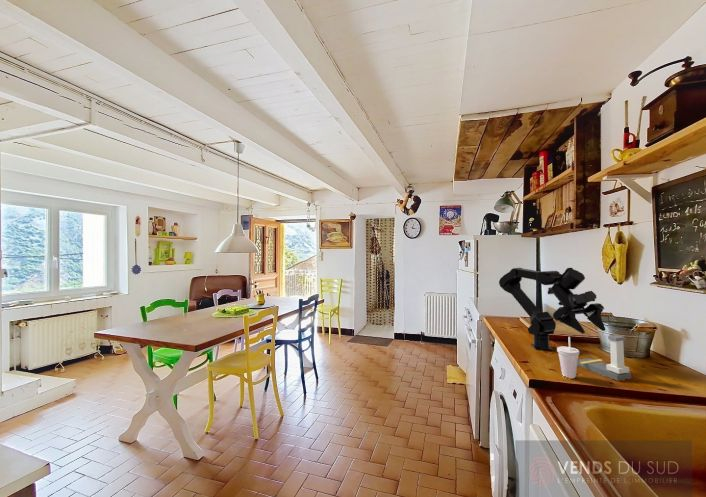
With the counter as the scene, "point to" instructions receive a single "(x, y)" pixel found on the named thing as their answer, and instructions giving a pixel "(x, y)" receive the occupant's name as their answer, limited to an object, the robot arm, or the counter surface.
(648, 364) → the counter surface
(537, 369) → the counter surface
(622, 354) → the white pillar
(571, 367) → the smoothie
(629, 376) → the grey flat slab
